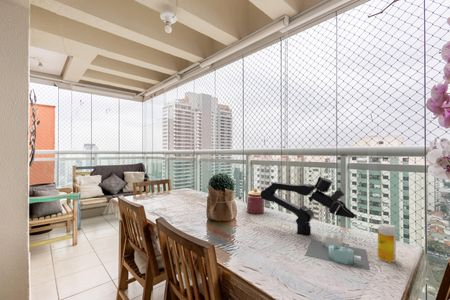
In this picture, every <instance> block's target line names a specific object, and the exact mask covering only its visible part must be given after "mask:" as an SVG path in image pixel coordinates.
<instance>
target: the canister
mask: <svg viewBox="0 0 450 300" xmlns="http://www.w3.org/2000/svg"><path fill="white" fill-rule="evenodd" d="M261 191H262V190H258V189H257V188H253V190H250V191H249V192H247V195H246V197H247V200H246V212H247V213H248V214H251V215H262V214H264V213H265V200H264V199H262V198H261V195H260V194H261Z"/></svg>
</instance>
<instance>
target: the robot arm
mask: <svg viewBox="0 0 450 300" xmlns="http://www.w3.org/2000/svg"><path fill="white" fill-rule="evenodd" d="M332 184H333V181H332V180H330V179H329V178H325V177H322V176H318V178H317V181H316V183H315V184H310V183H303V184H302V183H301V184H293V183H287V182H285V183H283V182H278V181H274V182H273V183H271V184H270V185H269V186H268V187H266V188H265V189H263V190H260V191H261V194H260V195H261V198H262V199H264V201H268V202H272V203H274V204H276V205H278V206H281V207H282V208H284V209H286V210H288V211H289V212H291V213H293V214H295V216H296V217H297V218H296V219H295V223H296V226H297V227H296V229H297V230H296V231H297V232H296V234H297V235H301V236H306V237H308V236H309V237H310V235H311V234H312V226H311V225H310V224H311V221H312V220H313V219H314V218H315V214H314V211H313V210H312V209H311V208H310V207H308V206H306V205H302V206H298V205H296V204H294V203H292V202H290V201H288V199H285V198H284V197H281V196H280V195H278V194H277V193H276V192H277V191H278V190H280V191H286V192H292V193H297V194H299V195H301V196H303V197H304V196H305V197H307V196H309V195H310V196H309V197H308V200H309V203H312V202H313V201H315V202H317V203H318V204H320V205H321V206H322V207H326V208H327V209H328V211H329V213H330V214H332V215H333V216H334V215H335V216H339V217H342V218H349V219H354V217H356V214H355V213H354V212H352V210H350V209H349V208H348V207H347V206H346V203H345V202H344V201H343V200H340V198H342V197H344V196H345V195H346V194H345V193H344V192H343V191H342V190H341V189H338V190H337V189H336V190H335V191H334V193H333V194H331V195H328V194H326V193H328V191H329V190H330V187H331V186H332ZM314 190H315V191H314Z"/></svg>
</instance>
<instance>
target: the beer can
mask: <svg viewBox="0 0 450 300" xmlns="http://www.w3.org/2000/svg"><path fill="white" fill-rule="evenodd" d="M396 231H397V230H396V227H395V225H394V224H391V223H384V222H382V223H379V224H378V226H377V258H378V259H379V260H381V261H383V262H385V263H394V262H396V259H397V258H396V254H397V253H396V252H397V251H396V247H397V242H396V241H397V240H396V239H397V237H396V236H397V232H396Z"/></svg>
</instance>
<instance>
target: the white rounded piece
mask: <svg viewBox="0 0 450 300" xmlns="http://www.w3.org/2000/svg"><path fill="white" fill-rule="evenodd" d="M321 241H322V246H324V247H329V245H336V246H341V247H343V245H345V246H350V242H348V241H344V237H343V236H342V235H338V234H332V233H326V232H325V233H324V232H323V233H321Z"/></svg>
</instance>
